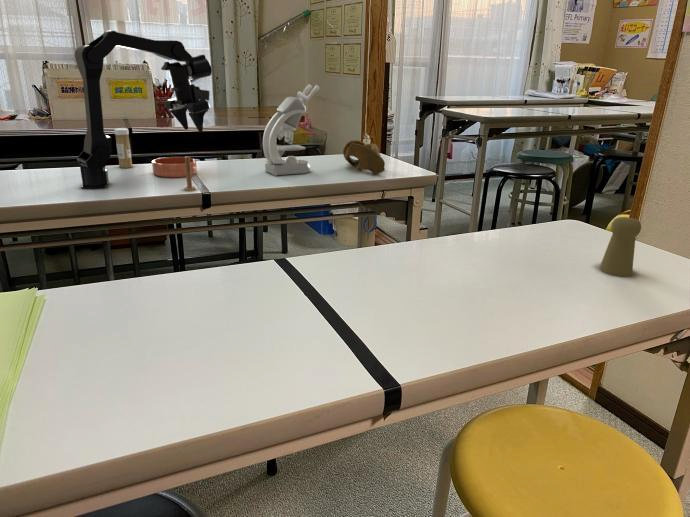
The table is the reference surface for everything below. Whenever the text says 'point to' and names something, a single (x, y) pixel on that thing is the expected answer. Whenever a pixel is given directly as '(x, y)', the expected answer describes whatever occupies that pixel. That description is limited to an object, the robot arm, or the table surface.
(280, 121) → the microscope
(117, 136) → the sprinkles bottle
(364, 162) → the brown looped sculpture
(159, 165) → the bowl
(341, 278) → the table surface
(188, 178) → the wooden post on base
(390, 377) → the table surface
